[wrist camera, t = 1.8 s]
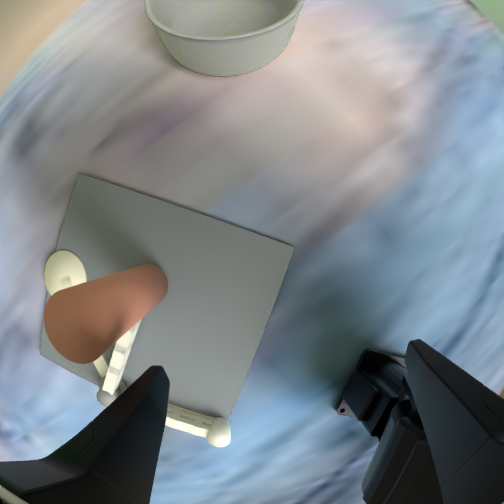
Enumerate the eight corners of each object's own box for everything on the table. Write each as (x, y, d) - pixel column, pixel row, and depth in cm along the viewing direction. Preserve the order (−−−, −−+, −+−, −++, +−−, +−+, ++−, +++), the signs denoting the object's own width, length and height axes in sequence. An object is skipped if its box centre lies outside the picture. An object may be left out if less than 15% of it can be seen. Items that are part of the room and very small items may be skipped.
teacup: (306, 76, 21) (334, 20, 14) (180, 111, 21) (159, 57, 13) (250, -18, 21) (256, -72, 13) (147, 8, 20) (129, -45, 12)
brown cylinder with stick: (125, 404, 21) (74, 491, 10) (94, 388, 21) (30, 463, 10) (174, 274, 21) (116, 312, 10) (137, 257, 20) (53, 275, 9)
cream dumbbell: (233, 417, 22) (233, 434, 20) (226, 432, 22) (226, 449, 20) (128, 382, 22) (119, 395, 19) (125, 398, 22) (116, 412, 19)
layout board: (293, 247, 22) (295, 247, 21) (221, 434, 22) (220, 439, 22) (75, 172, 21) (71, 170, 20) (36, 356, 21) (32, 358, 20)
